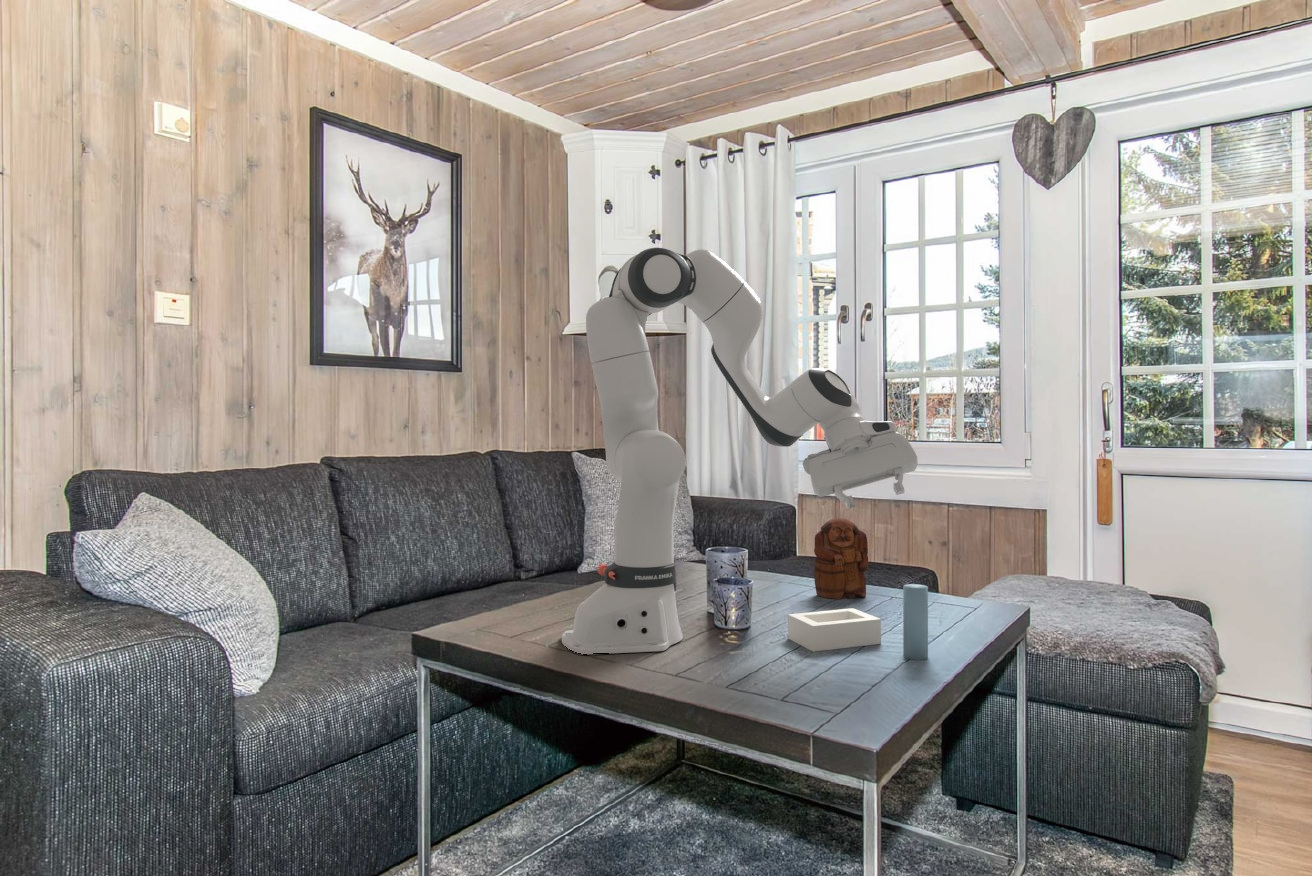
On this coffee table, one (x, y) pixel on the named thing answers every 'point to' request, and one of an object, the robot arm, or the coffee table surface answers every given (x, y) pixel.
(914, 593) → the blue pin
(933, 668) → the coffee table surface
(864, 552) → the wooden figurine
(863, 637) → the slot block
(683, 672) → the coffee table surface
